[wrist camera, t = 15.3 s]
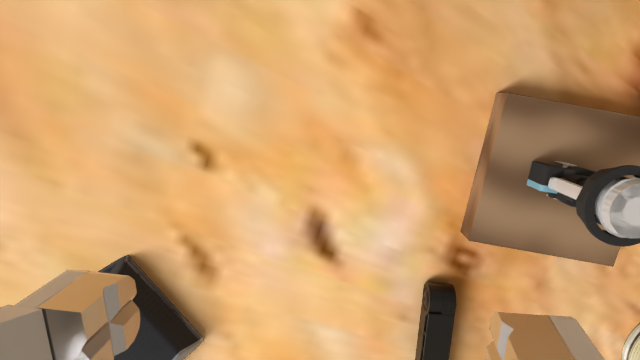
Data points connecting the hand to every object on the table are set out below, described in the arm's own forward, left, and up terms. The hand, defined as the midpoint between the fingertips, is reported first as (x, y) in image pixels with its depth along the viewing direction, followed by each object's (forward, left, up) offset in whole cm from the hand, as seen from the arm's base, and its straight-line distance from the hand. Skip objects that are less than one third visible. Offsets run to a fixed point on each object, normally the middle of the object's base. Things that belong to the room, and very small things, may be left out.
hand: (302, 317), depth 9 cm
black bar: (+20, +14, -30) cm, 38 cm away
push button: (-1, +20, -27) cm, 34 cm away
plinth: (-1, +20, -29) cm, 36 cm away
